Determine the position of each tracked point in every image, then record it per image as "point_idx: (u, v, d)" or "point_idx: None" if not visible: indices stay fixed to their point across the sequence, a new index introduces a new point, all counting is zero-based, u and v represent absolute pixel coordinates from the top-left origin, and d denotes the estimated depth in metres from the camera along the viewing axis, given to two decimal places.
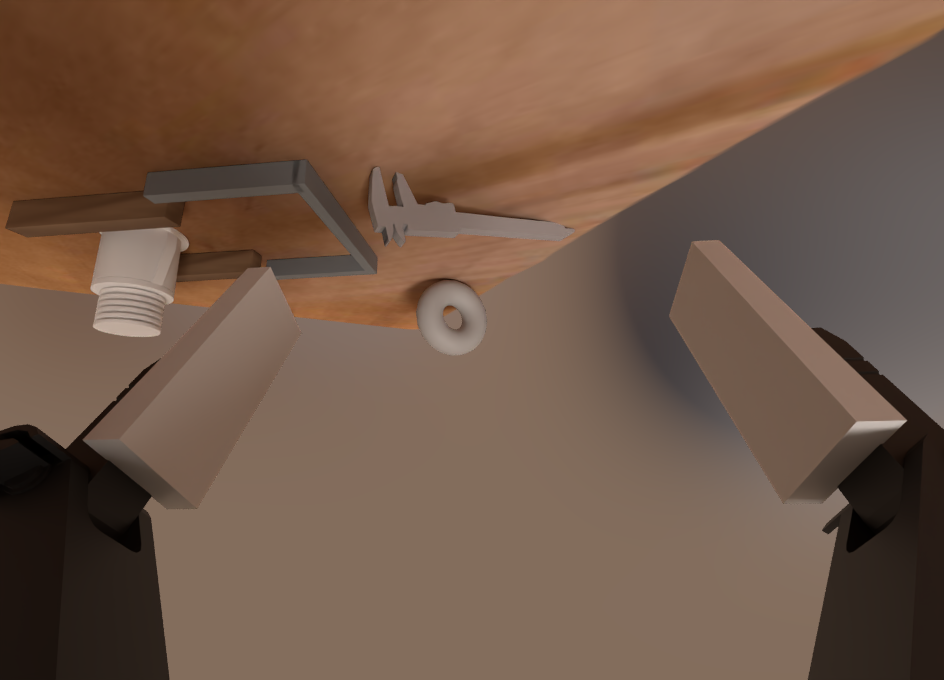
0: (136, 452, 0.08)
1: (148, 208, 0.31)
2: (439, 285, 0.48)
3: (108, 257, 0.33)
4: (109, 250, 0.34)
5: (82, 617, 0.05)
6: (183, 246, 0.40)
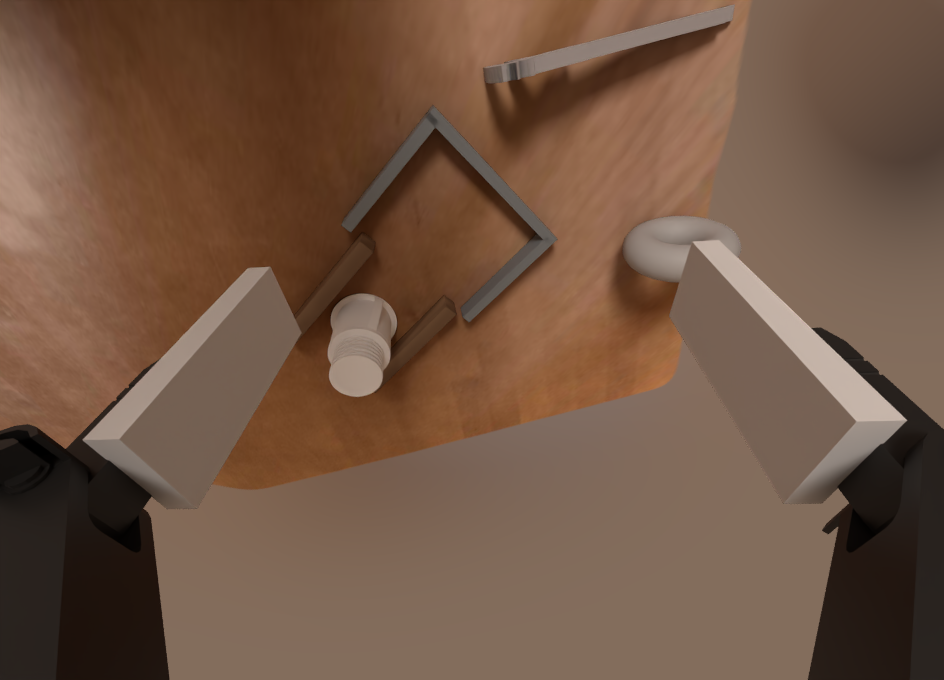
0: (136, 452, 0.08)
1: (350, 250, 0.36)
2: (635, 227, 0.38)
3: (337, 325, 0.37)
4: (337, 322, 0.38)
5: (82, 617, 0.05)
6: (393, 324, 0.43)
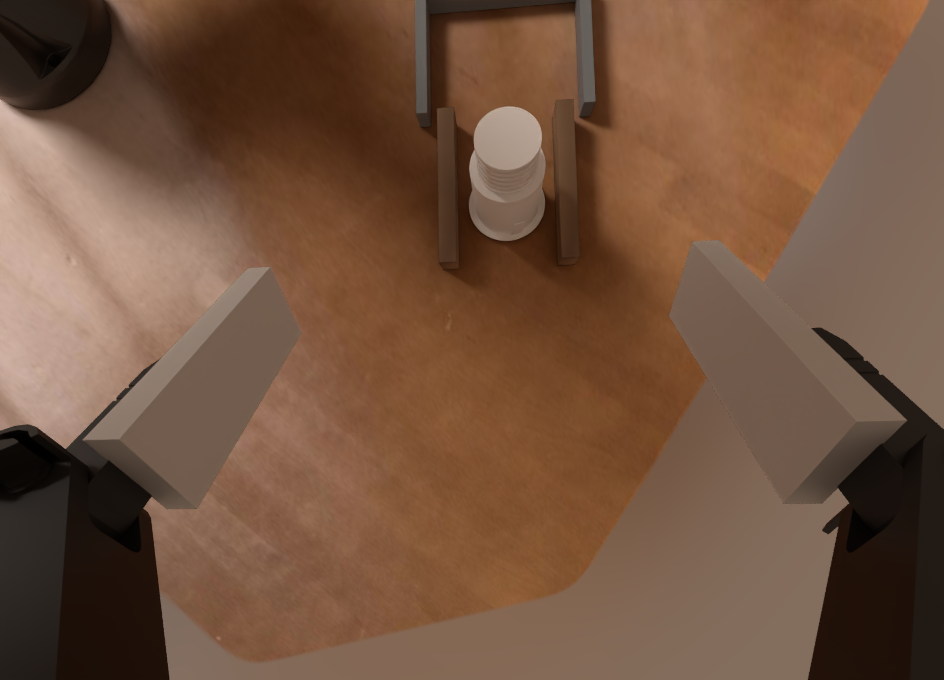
0: (136, 452, 0.08)
1: None
2: None
3: None
4: None
5: (82, 617, 0.05)
6: None
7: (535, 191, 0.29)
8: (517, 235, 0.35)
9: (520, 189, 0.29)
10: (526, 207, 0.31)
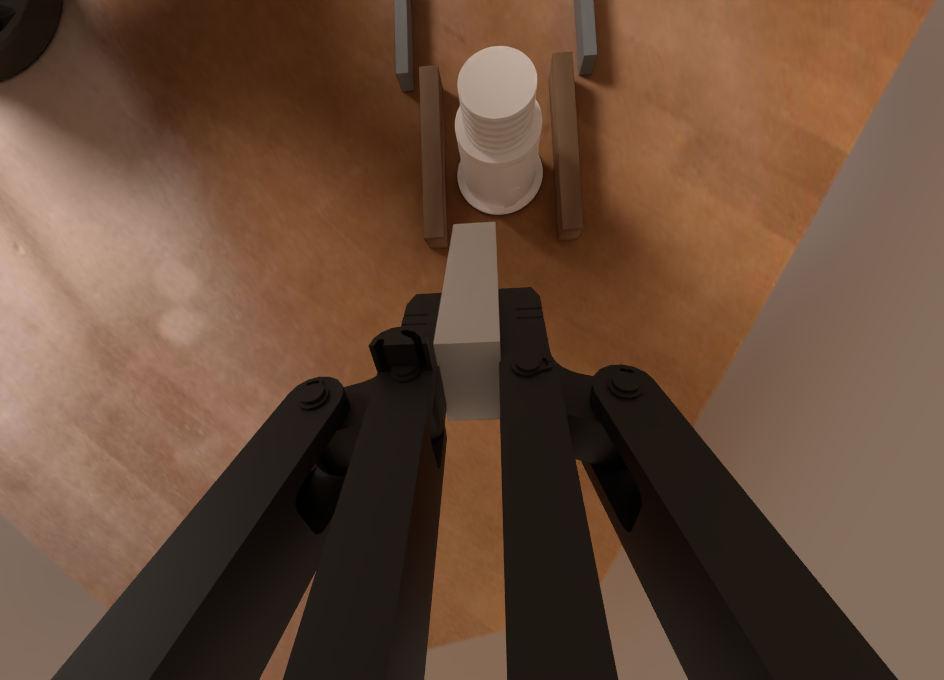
0: (466, 358, 0.09)
1: None
2: None
3: None
4: None
5: (415, 525, 0.06)
6: None
7: (531, 150, 0.25)
8: (512, 208, 0.31)
9: (514, 148, 0.25)
10: (521, 171, 0.27)
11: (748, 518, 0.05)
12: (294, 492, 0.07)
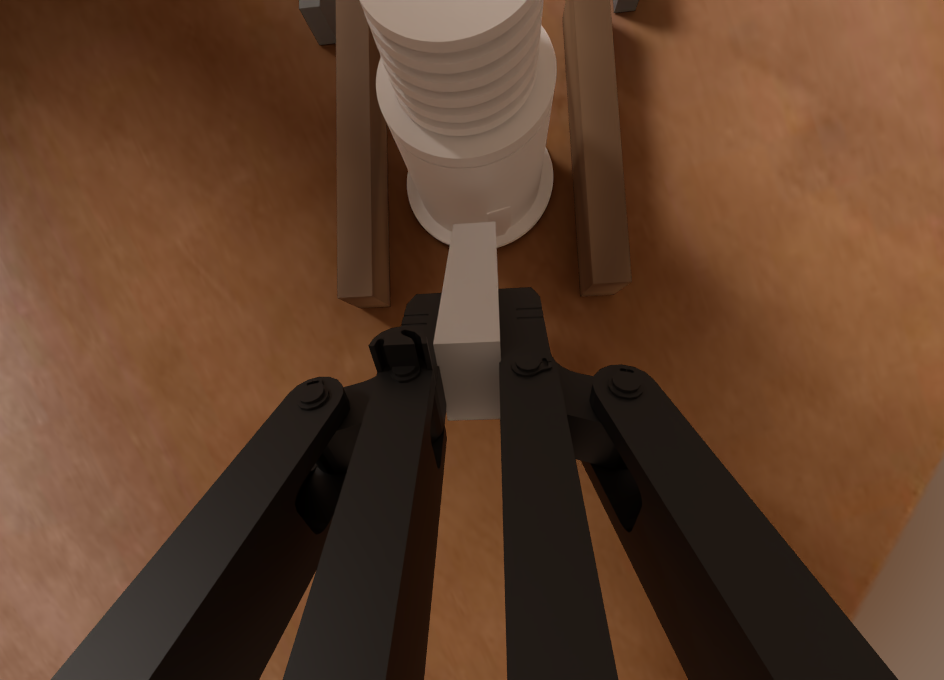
0: (466, 358, 0.09)
1: None
2: None
3: None
4: None
5: (415, 525, 0.06)
6: None
7: (533, 131, 0.12)
8: (500, 239, 0.18)
9: (497, 126, 0.12)
10: (514, 175, 0.14)
11: (748, 518, 0.05)
12: (294, 491, 0.07)
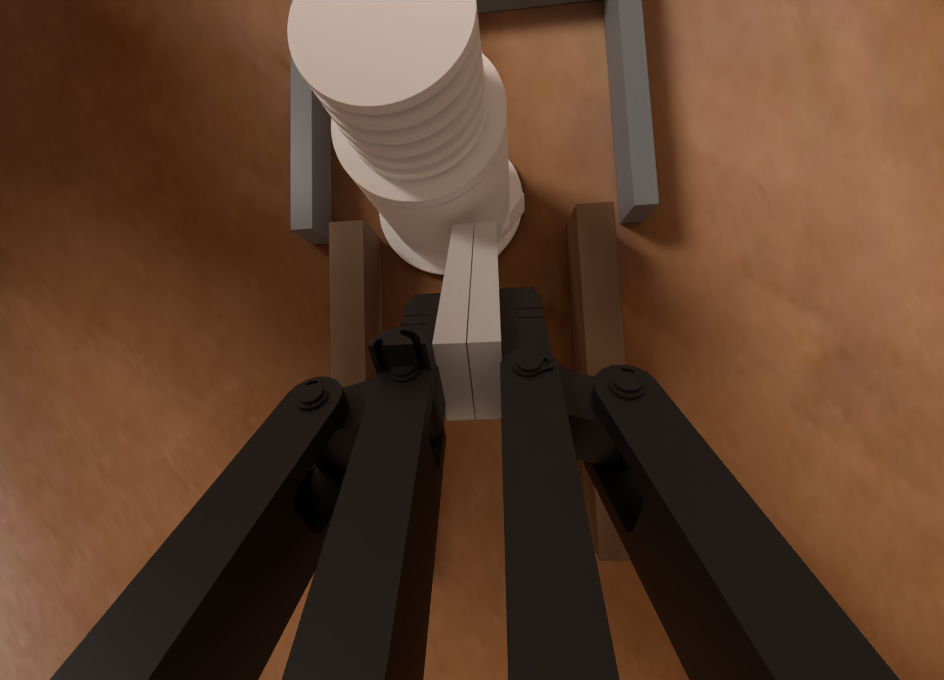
0: (465, 358, 0.09)
1: None
2: None
3: None
4: (381, 214, 0.15)
5: (414, 525, 0.06)
6: None
7: (506, 118, 0.12)
8: (506, 235, 0.18)
9: (480, 133, 0.12)
10: (504, 168, 0.14)
11: (749, 518, 0.05)
12: (293, 492, 0.07)
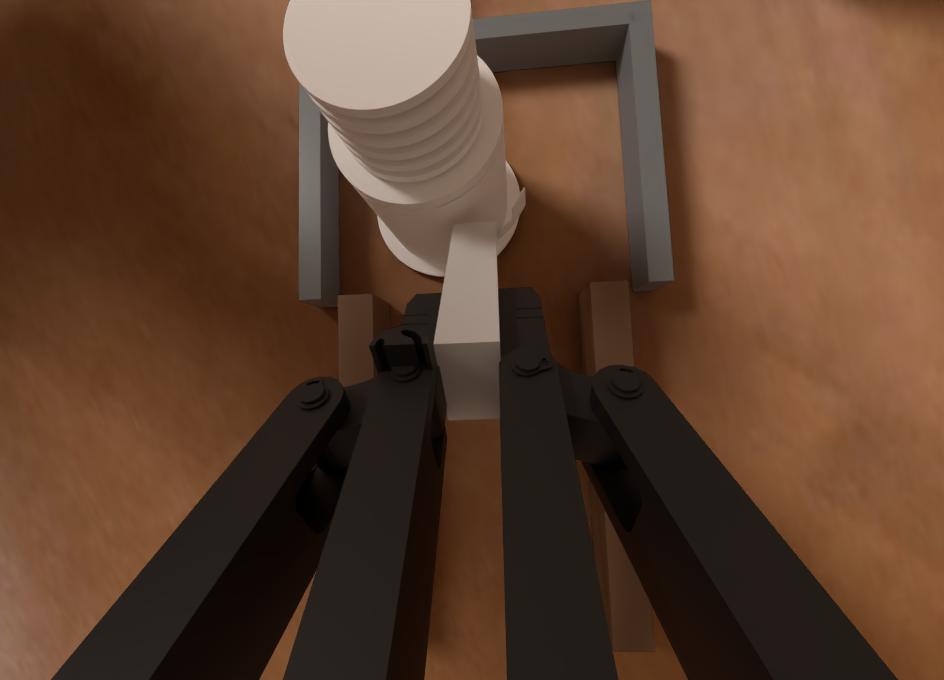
0: (466, 358, 0.09)
1: None
2: None
3: (376, 213, 0.15)
4: (382, 221, 0.15)
5: (415, 525, 0.06)
6: None
7: (502, 113, 0.12)
8: (506, 232, 0.18)
9: (479, 129, 0.12)
10: (502, 164, 0.14)
11: (747, 517, 0.05)
12: (294, 492, 0.07)
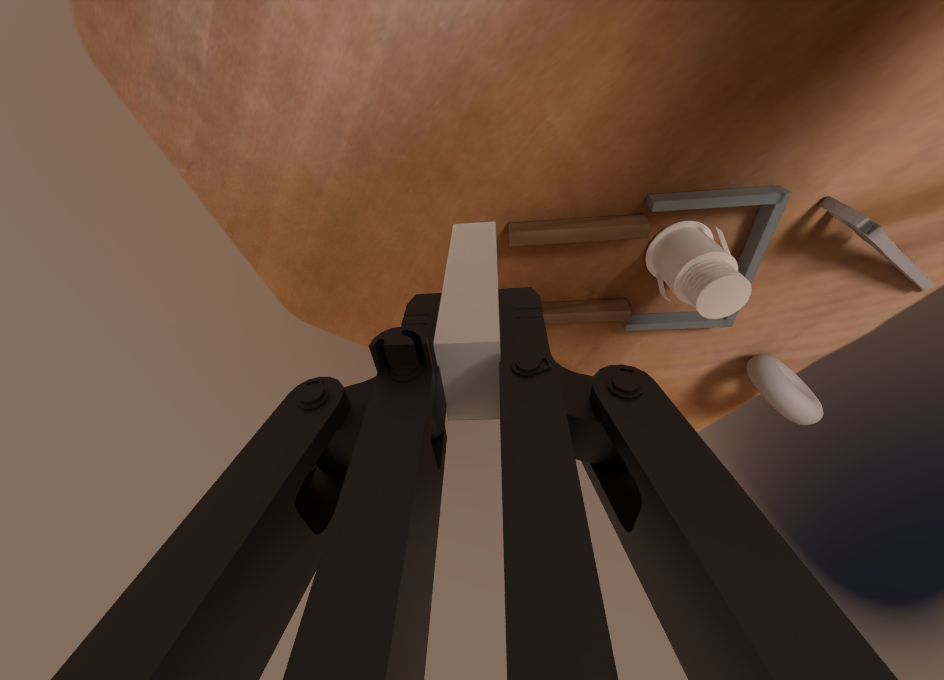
0: (467, 358, 0.09)
1: (632, 221, 0.39)
2: None
3: (680, 249, 0.38)
4: (677, 247, 0.38)
5: (415, 525, 0.06)
6: None
7: None
8: None
9: None
10: None
11: (747, 517, 0.05)
12: (293, 492, 0.07)
